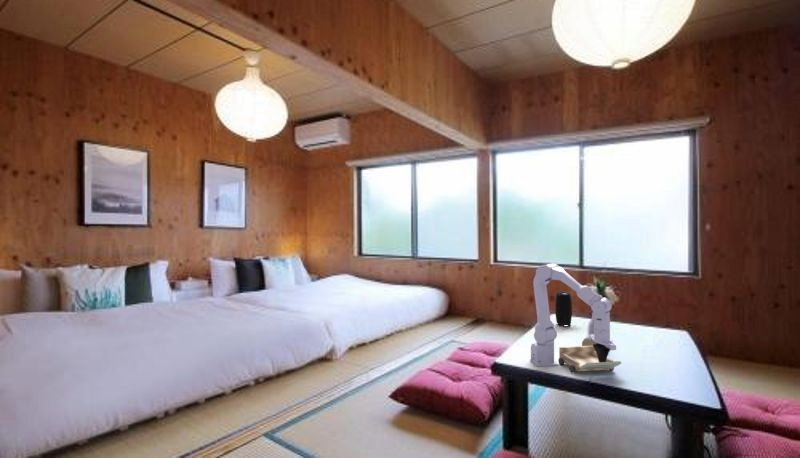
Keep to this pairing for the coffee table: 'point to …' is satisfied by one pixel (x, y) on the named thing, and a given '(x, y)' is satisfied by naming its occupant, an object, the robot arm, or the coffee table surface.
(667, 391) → the coffee table surface
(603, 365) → the tailgate
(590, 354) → the wagon
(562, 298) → the portable speaker
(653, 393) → the coffee table surface
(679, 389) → the coffee table surface
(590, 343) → the ceramic mug
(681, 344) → the coffee table surface
